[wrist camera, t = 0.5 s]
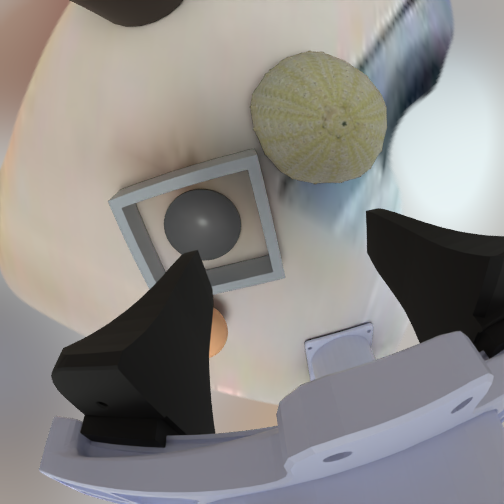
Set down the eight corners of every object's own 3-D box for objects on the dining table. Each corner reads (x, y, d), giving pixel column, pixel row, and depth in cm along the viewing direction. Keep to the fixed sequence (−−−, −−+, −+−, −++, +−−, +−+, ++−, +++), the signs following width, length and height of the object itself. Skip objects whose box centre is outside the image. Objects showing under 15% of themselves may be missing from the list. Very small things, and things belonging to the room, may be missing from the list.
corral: (280, 260, 24) (285, 277, 21) (164, 288, 24) (158, 306, 22) (254, 148, 19) (257, 154, 17) (120, 190, 19) (107, 201, 17)
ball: (233, 325, 27) (235, 365, 23) (187, 334, 27) (182, 373, 23) (218, 287, 25) (216, 327, 20) (167, 298, 25) (157, 337, 21)
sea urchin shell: (314, 19, 13) (417, 79, 10) (340, 84, 20) (411, 143, 17) (210, 104, 15) (289, 189, 13) (263, 150, 22) (324, 219, 20)
